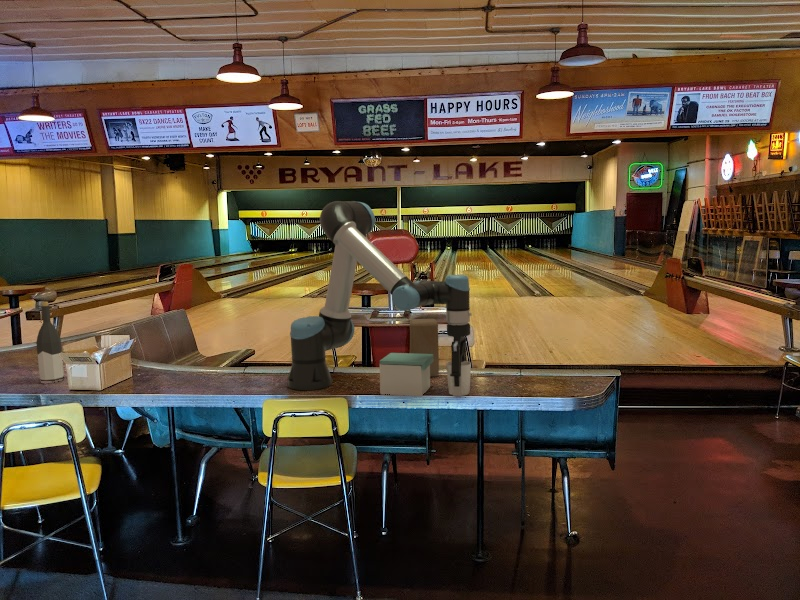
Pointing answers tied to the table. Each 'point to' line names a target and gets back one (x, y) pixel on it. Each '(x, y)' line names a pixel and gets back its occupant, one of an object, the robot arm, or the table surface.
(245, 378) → the table surface
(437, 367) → the block
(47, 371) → the wine bottle
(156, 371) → the table surface
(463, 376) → the white cup
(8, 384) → the table surface
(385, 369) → the box
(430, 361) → the lid
